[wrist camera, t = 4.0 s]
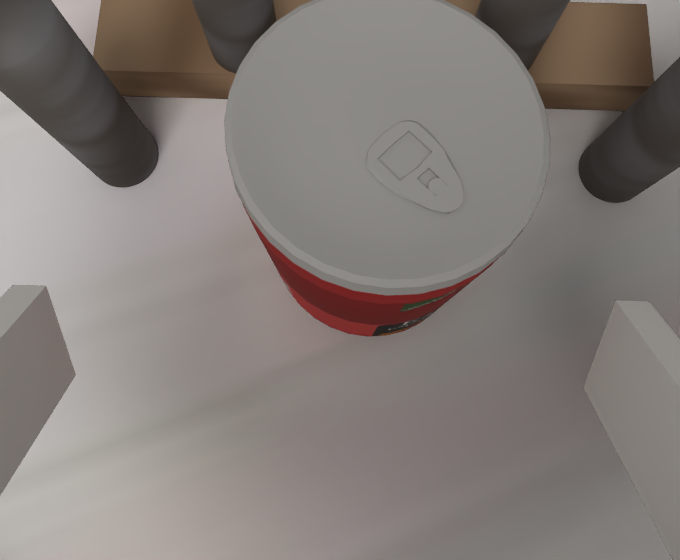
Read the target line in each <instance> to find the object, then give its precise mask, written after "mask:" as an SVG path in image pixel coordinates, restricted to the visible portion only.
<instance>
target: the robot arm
mask: <svg viewBox="0 0 680 560" xmlns="http://www.w3.org/2000/svg"><path fill="white" fill-rule="evenodd" d="M75 375H76V374H75V371H74V368H73V365H72V362H71V359H70V356H69V353H68V350H67V347H66V344H65V341H64V338H63V335H62V332H61V329H60V326H59V323H58V320H57V317H56V314H55V311H54V308H53V305H52V302H51V299H50V296H49V293H48V290H47V287H46V286H34V285H12V286H11V287H10V289H9V290H8V291H7V292H6V293H5V294H4V295H3V296H2V297H1V298H0V495H1V493H2V492H3V490H4V489H5V487H6V486H7V484H8V482H9V481H10V479H11V478H12V476H13V474H14V473H15V471H16V470H17V468H18V466H19V465H20V463H21V462H22V460H23V458H24V457H25V455H26V454H27V452H28V450H29V449H30V447H31V446H32V444H33V442H34V441H35V439H36V438H37V436H38V434H39V433H40V431H41V430H42V428H43V426H44V425H45V423H46V422H47V420H48V418H49V417H50V415H51V414H52V412H53V410H54V409H55V407H56V406H57V404H58V402H59V401H60V399H61V398H62V396H63V394H64V393H65V391H66V390H67V388H68V386H69V385H70V383H71V382H72V380H73V378H74V377H75ZM583 388H584V390H585V392H586V394H587V396H588V398H589V400H590V402H591V404H592V406H593V407H594V409H595V411H596V413H597V415H598V417H599V419H600V421H601V423H602V425H603V427H604V429H605V430H606V432H607V434H608V436H609V438H610V440H611V442H612V444H613V446H614V448H615V450H616V452H617V454H618V455H619V457H620V459H621V461H622V463H623V465H624V467H625V469H626V471H627V473H628V475H629V477H630V478H631V480H632V482H633V484H634V486H635V488H636V490H637V492H638V494H639V496H640V498H641V500H642V501H643V503H644V505H645V507H646V509H647V511H648V513H649V515H650V517H651V519H652V521H653V523H654V525H655V526H656V528H657V530H658V532H659V534H660V536H661V538H662V540H663V542H664V544H665V546H666V548H667V549H668V551H669V553H670V555H671V557H672V559H673V560H680V338H679V337H678V336H677V335H676V334H675V332H674V331H673V330H672V329H671V328H670V326H669V325H668V324H667V323H666V322H665V320H664V319H663V318H662V317H661V315H660V314H659V313H658V312H657V311H656V309H655V308H654V307H653V306H652V305H651V303H650V302H649V301H620V300H615V303H614V306H613V309H612V311H611V314H610V317H609V319H608V322H607V325H606V328H605V330H604V333H603V336H602V338H601V341H600V344H599V347H598V349H597V352H596V355H595V357H594V360H593V363H592V366H591V368H590V371H589V374H588V376H587V379H586V382H585V385H584V387H583Z"/></svg>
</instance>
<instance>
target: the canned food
mask: <svg viewBox="0 0 680 560" xmlns="http://www.w3.org/2000/svg"><path fill="white" fill-rule="evenodd" d="M225 140H226V152H227V156H228V162H229V165H230V169H231V173H232V177H233V180H234V184H235V188H236V191H237V193H238V195H239V197H240V199H241V201H242V203H243V206H244V208H245V210H246V212H247V214H248V216H249V218H250V220H251V222H252V224H253V226H254V228H255V230H256V232H257V233H258V235H259V237H260V239H261V241H262V243H263V244H264V246H265V248H266V250H267V252H268V254H269V255H270V257H271V259H272V261H273V263H274V265H275V266H276V268H277V270H278V272H279V274H280V276H281V277H282V279H283V281H284V283H285V285H286V286H287V288H288V290H289V291H290V293H291V294H292V295H293V297H294V298H295V299H296V300H297V302H298V303H299V304H300V305H301V306H302V307H303V308H304V309H305V310H306V311H307V312H309V313H310V314H311V315H312V316H313V317H314V318H316V319H318V320H319V321H321V322H323V323H324V324H326V325H328V326H330V327H332V328H335V329H337V330H340V331H343V332H346V333H349V334H355V335H362V336H384V335H389V334H393V333H397V332H401V331H404V330H406V329H409V328H411V327H413V326H415V325H417V324H419V323H421V322H422V321H423V320H424V319H426V318H427V317H428V316H430V315H431V314H432V313H433V312H435V311H436V310H437V309H438V308H440V307H441V306H442V305H443V304H444V303H446V302H447V301H448V300H449V299H451V298H452V297H453V296H454V295H455V294H457V293H458V292H459V291H460V290H462V289H463V288H464V287H465V286H467V285H468V284H469V283H470V282H471V281H473V280H474V279H475V278H476V277H478V276H479V275H480V274H481V273H482V272H484V271H485V270H486V269H487V268H489V267H490V266H491V265H492V264H493V263H494V262H495V261H496V260H497V259H498V258H499V257H500V256H502V255H503V254H504V253H505V251H506V250H507V249H508V248H509V247H510V245H511V244H512V243H513V242H514V241H515V239H516V238H517V237H518V236H519V234H520V233H521V232H522V231H523V229H524V227H525V225H526V224H527V223H528V222H529V220H530V218H531V216H532V214H533V212H534V210H535V208H536V206H537V204H538V202H539V200H540V198H541V196H542V193H543V189H544V185H545V181H546V177H547V173H548V169H549V158H550V133H549V128H548V123H547V117H546V112H545V107H544V104H543V102H542V99H541V97H540V95H539V92H538V90H537V87H536V85H535V82H534V80H533V78H532V77H531V75H530V74H529V72H528V70H527V69H526V67H525V66H524V64H523V63H522V61H521V60H520V58H519V57H518V55H517V54H516V53H515V52H514V51H513V50H512V48H511V47H510V46H509V45H508V44H507V43H506V42H505V41H504V40H503V39H502V38H501V37H500V36H499V35H498V34H497V33H496V32H495V31H494V30H492V29H491V28H490V27H488V26H487V25H486V24H484V23H483V22H482V21H480V20H479V19H477V18H476V17H475V16H473V15H472V14H470V13H468V12H466V11H464V10H462V9H460V8H458V7H456V6H454V5H452V4H450V3H448V2H446V1H444V0H313V1H311V2H308V3H306V4H303V5H301V6H299V7H297V8H296V9H294V10H293V11H291V12H290V13H288V14H287V15H285V16H284V17H282V18H281V19H279V20H278V21H276V22H275V23H274V24H273V25H272V26H271V27H270V28H269V29H268V30H267V31H266V32H265V33H264V34H263V35H262V36H261V37H260V38H259V39H258V40H257V41H256V42H255V43H254V45H253V46H252V48H251V49H250V51H249V52H248V54H247V55H246V57H245V58H244V60H243V61H242V63H241V64H240V66H239V68H238V71H237V73H236V76H235V79H234V81H233V84H232V86H231V89H230V91H229V96H228V102H227V108H226V115H225Z"/></svg>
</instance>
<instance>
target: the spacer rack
mask: <svg viewBox="0 0 680 560" xmlns="http://www.w3.org/2000/svg"><path fill="white" fill-rule="evenodd" d="M311 1H313V0H101V6H100V13H99V20H98V27H97V34H96V41H95V48H94V55H93V56H92V55H91V53H90V52H89V51H88V49H87V48H86V47H85V45H84V44H83V43H82V41H81V40H80V39H79V37H78V36H77V35H76V33H75V32H74V30H73V29H72V28H71V26H70V25H69V24H68V22H67V21H66V20H65V18H64V17H63V16H62V14H61V13H60V12H59V10H58V9H57V8H56V6H55V5H54V3H53V2H52V1H51V0H0V91H1V92H2V93H4V94H5V95H6V96H7V97H8V98H9V99H10V100H11V101H13V102H14V103H15V104H16V105H17V106H18V107H19V108H21V109H22V110H23V111H24V112H25V113H26V114H27V115H28V116H30V117H31V118H32V119H33V120H34V121H35V122H36V123H38V124H39V125H40V126H41V127H42V128H43V129H44V130H45V131H47V132H48V133H49V134H50V135H51V136H52V137H53V138H55V139H56V140H57V141H58V142H59V143H60V144H61V145H62V146H64V147H65V148H66V149H67V150H68V151H69V152H70V153H72V154H73V155H74V156H75V157H76V158H77V159H78V160H79V161H81V162H82V163H83V164H84V165H85V166H86V167H87V168H89V169H90V170H91V171H92V172H93V173H94V174H95V175H96V176H98V177H99V178H100V179H101V180H102V181H104V182H105V183H107V184H109V185H111V186H115V187H130V186H133V185H136V184H139V183H140V182H142V181H144V180H145V179H146V178H147V177H148V176H149V175H150V174H151V173H152V172H153V170H154V168H155V166H156V164H157V160H158V148H157V144H156V142H155V140H154V139H153V137H152V136H151V134H150V133H149V132H148V130H147V129H146V128H145V126H144V125H143V124H142V122H141V121H140V120H139V118H138V117H137V116H136V114H135V113H134V111H133V110H132V109H131V107H130V106H129V105H128V103H127V102H126V101H125V99H124V98H123V97H122V96H149V97H183V98H216V99H228V96H229V91H230V89H231V86H232V84H233V81H234V79H235V76H236V73H237V71H238V68H239V66H240V64H241V63H242V61H243V60H244V58H245V57H246V55H247V54H248V52H249V51H250V49H251V48H252V46H253V45H254V43H255V42H256V41H257V40H258V39H259V38H260V37H261V36H262V35H263V34H264V33H265V32H266V31H267V30H268V29H269V28H270V27H271V26H272V25H273V24H274V23H275V22H276V21H278V20H279V19H281V18H282V17H284V16H285V15H287V14H288V13H290V12H291V11H293V10H294V9H296V8H297V7H299V6H301V5H303V4H306V3H308V2H311ZM444 1H446V2H448V3H450V4H452V5H454V6H456V7H458V8H460V9H462V10H464V11H466V12H468V13H470V14H472V15H473V16H475V17H476V18H477V19H479V20H480V21H482V22H483V23H484V24H486V25H487V26H488V27H490V28H491V29H492V30H494V31H495V32H496V33H497V34H498V35H499V36H500V37H501V38H502V39H503V40H504V41H505V42H506V43H507V44H508V45H509V46H510V47H511V48H512V50H513V51H514V52H515V53H516V54H517V55H518V57H519V58H520V60H521V61H522V63H523V64H524V66H525V67H526V69H527V70H528V72H529V74H530V75H531V77H532V78H533V80H534V82H535V85H536V87H537V90H538V92H539V95H540V97H541V99H542V102H543V104H544V107H545V108H553V109H586V110H620V111H625V112H624V113H623V114H622V115H620V116H619V117H618V118H617V119H616V120H615V121H614V122H613V123H612V124H611V125H610V126H609V127H608V128H607V129H606V130H605V131H604V132H603V133H602V134H601V135H600V136H599V137H598V138H597V139H596V140H595V141H594V142H593V143H592V144H591V145H590V146H589V147H588V148H587V149H586V150H585V151H584V153H583V154H582V156H581V158H580V161H579V175H580V178H581V181H582V183H583V185H584V186H585V188H586V189H587V190H588V191H589V192H590V193H591V194H592V195H594V196H595V197H597V198H599V199H601V200H604V201H607V202H613V203H618V202H624V201H627V200H630V199H632V198H633V197H635V196H636V195H638V194H639V193H641V192H642V191H644V190H645V189H647V188H648V187H650V186H651V185H653V184H655V183H656V182H658V181H659V180H661V179H662V178H664V177H665V176H667V175H668V174H670V173H671V172H673V171H674V170H676V169H677V168H679V167H680V57H679V58H678V59H677V60H676V61H675V62H674V63H673V64H672V65H671V66H670V67H669V68H668V69H667V70H666V71H665V72H664V73H663V74H662V75H661V76H660V77H659V78H658V79H657V80H656V81H655V82H654V78H653V68H652V58H651V47H650V37H649V27H648V16H647V6H646V4H619V3H584V2H569V1H570V0H444Z"/></svg>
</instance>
